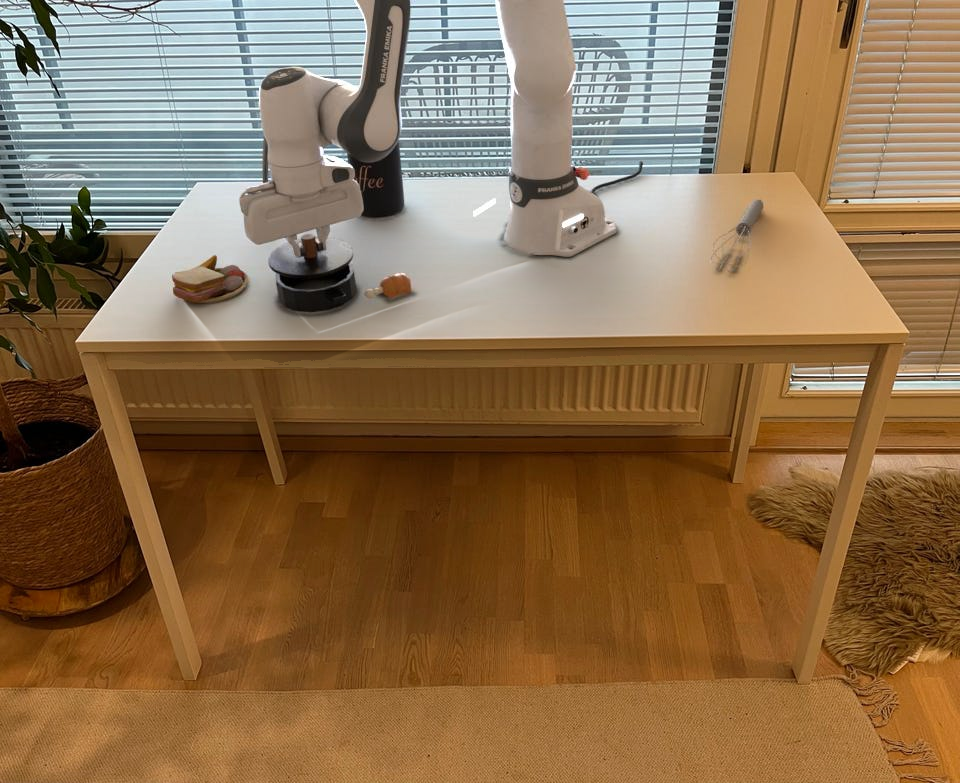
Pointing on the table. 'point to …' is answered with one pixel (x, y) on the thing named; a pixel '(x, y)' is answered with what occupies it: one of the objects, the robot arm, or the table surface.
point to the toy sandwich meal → (209, 282)
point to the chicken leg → (391, 286)
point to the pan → (317, 292)
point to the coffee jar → (380, 184)
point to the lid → (311, 258)
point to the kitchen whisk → (743, 229)
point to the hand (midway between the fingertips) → (310, 252)
